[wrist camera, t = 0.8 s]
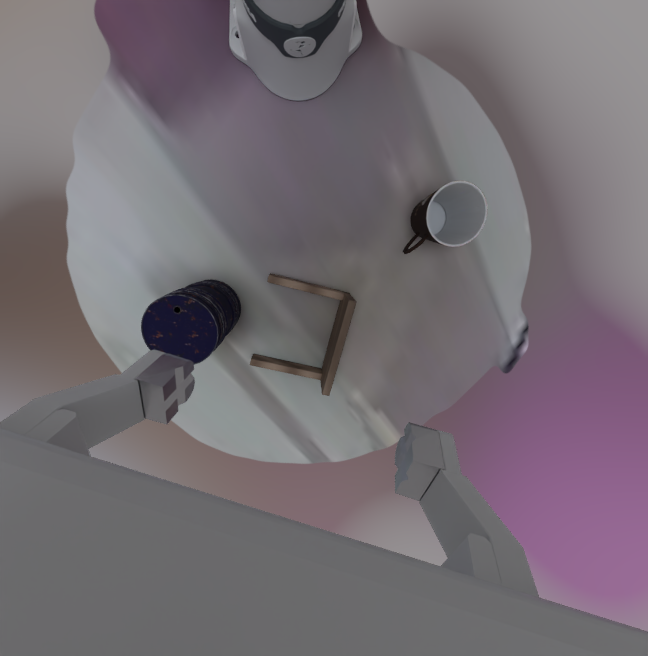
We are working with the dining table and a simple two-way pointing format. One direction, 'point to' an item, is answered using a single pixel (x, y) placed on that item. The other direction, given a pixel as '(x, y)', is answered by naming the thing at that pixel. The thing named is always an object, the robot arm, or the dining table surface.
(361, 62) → the dining table surface
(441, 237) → the coffee mug
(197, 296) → the dark blue cylinder
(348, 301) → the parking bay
